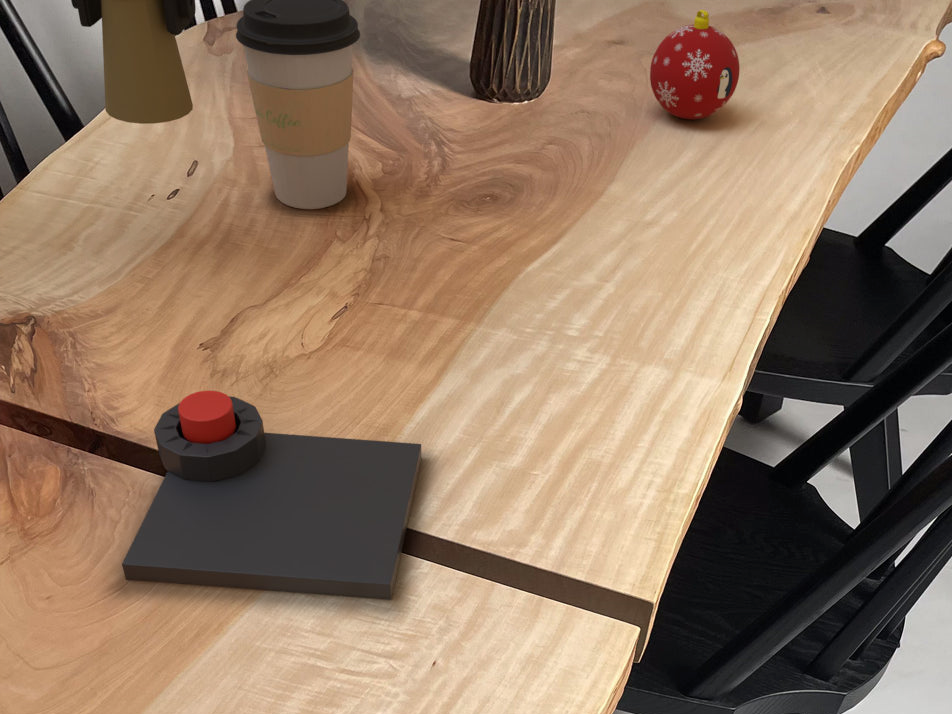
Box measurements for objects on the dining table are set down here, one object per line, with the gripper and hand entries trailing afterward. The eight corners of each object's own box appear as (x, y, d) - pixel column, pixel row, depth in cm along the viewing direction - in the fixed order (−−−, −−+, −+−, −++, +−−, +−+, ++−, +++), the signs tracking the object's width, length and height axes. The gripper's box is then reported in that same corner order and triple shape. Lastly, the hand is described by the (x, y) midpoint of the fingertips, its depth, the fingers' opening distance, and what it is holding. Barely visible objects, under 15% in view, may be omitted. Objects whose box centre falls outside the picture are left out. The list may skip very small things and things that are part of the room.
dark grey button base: (107, 579, 58) (95, 536, 56) (181, 432, 67) (173, 391, 65) (391, 600, 57) (389, 558, 55) (423, 449, 67) (422, 409, 65)
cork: (101, 95, 80) (72, -72, 73) (186, 89, 82) (166, -74, 75) (109, 126, 76) (79, -47, 69) (199, 120, 78) (178, -50, 70)
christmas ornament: (694, 95, 114) (709, -8, 108) (749, 123, 109) (768, 17, 102) (627, 108, 111) (639, 3, 104) (681, 139, 105) (696, 30, 99)
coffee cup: (236, 209, 90) (211, 18, 81) (281, 164, 97) (263, -17, 88) (345, 226, 89) (332, 32, 79) (383, 179, 96) (375, -4, 86)
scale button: (176, 443, 62) (170, 418, 61) (191, 412, 65) (186, 388, 63) (228, 447, 62) (224, 422, 61) (241, 416, 64) (238, 391, 63)
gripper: (-92, -313, 61) (-11, 31, 72) (216, -287, 60) (247, 53, 72) (-31, -322, 66) (35, -2, 78) (250, -298, 66) (274, 19, 78)
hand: (136, 21), depth 75 cm, fingers closed on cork, 5 cm apart
